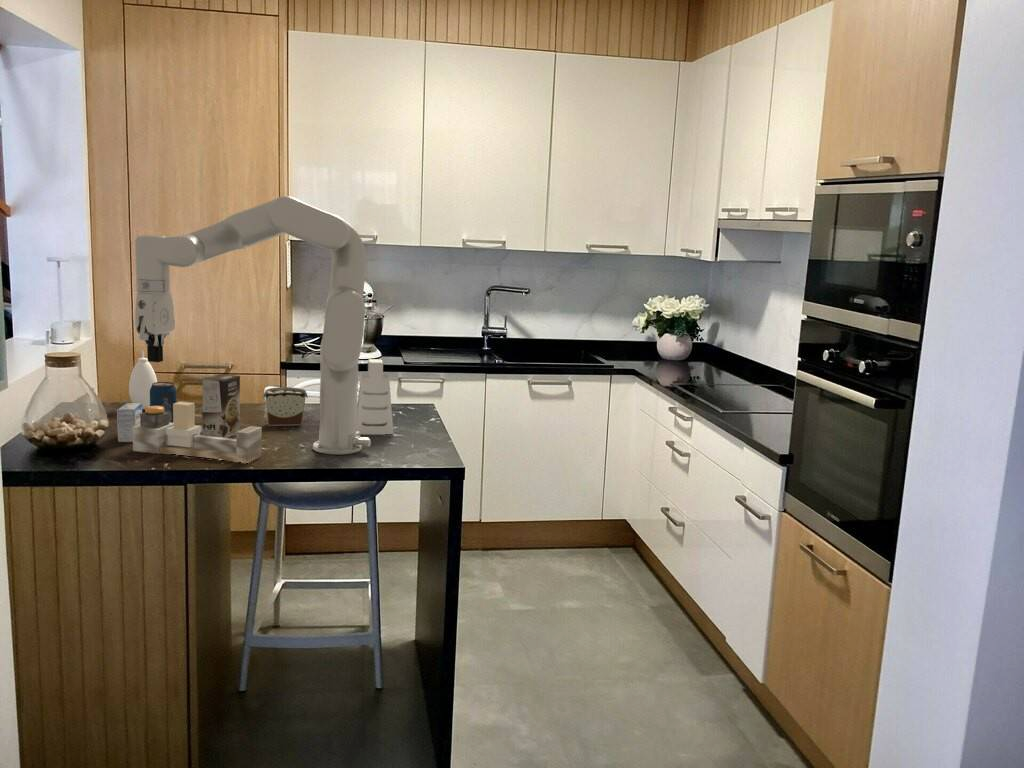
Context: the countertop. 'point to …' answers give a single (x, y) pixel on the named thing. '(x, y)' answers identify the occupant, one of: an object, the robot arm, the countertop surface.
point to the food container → (285, 405)
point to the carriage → (183, 425)
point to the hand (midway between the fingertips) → (155, 361)
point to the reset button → (154, 410)
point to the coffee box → (221, 406)
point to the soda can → (164, 396)
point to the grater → (374, 401)
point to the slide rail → (196, 441)
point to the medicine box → (128, 420)
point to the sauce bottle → (141, 382)
